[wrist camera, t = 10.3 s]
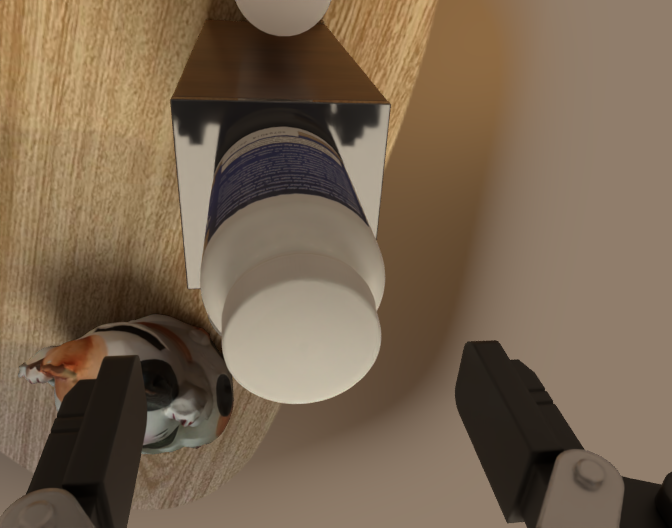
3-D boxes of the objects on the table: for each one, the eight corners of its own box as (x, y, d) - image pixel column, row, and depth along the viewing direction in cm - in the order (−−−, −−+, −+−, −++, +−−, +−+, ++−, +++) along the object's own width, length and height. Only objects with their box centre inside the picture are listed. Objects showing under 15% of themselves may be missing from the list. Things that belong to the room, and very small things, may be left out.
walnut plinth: (205, 19, 37) (171, 96, 20) (325, 24, 38) (388, 101, 21) (211, 137, 41) (188, 284, 24) (320, 138, 42) (370, 279, 25)
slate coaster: (171, 96, 20) (169, 99, 20) (388, 101, 21) (391, 104, 21) (188, 284, 24) (187, 289, 24) (370, 279, 25) (372, 284, 25)
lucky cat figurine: (65, 409, 52) (-37, 473, 38) (102, 285, 51) (11, 304, 38) (220, 459, 52) (173, 540, 38) (258, 335, 51) (225, 373, 37)
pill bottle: (184, 162, 21) (144, 315, 13) (313, 97, 21) (359, 213, 12) (254, 270, 24) (258, 452, 16) (369, 216, 23) (437, 375, 15)
